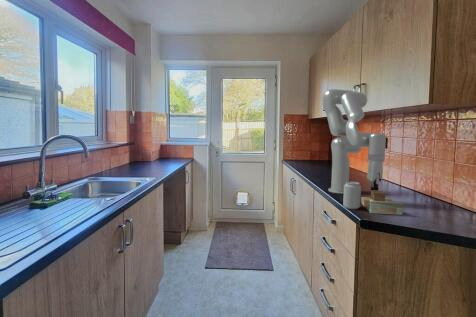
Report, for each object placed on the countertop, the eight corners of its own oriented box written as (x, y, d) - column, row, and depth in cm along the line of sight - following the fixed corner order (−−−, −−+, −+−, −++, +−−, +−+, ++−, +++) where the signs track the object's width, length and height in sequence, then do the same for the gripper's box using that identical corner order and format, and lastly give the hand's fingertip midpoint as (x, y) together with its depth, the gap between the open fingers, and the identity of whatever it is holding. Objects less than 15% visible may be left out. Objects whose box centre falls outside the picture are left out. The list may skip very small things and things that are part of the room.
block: (370, 198, 149) (371, 190, 149) (381, 198, 148) (382, 190, 148) (373, 200, 144) (374, 192, 144) (384, 201, 143) (385, 192, 143)
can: (349, 210, 138) (350, 184, 137) (339, 206, 146) (340, 181, 144) (363, 209, 140) (365, 183, 139) (353, 205, 148) (354, 180, 146)
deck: (361, 203, 152) (361, 193, 151) (389, 204, 149) (389, 194, 149) (370, 213, 134) (371, 201, 133) (402, 214, 132) (403, 203, 131)
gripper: (364, 156, 159) (362, 191, 161) (372, 159, 144) (370, 197, 146) (379, 157, 158) (377, 191, 160) (389, 160, 143) (386, 198, 145)
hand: (374, 194), depth 153 cm, fingers closed
